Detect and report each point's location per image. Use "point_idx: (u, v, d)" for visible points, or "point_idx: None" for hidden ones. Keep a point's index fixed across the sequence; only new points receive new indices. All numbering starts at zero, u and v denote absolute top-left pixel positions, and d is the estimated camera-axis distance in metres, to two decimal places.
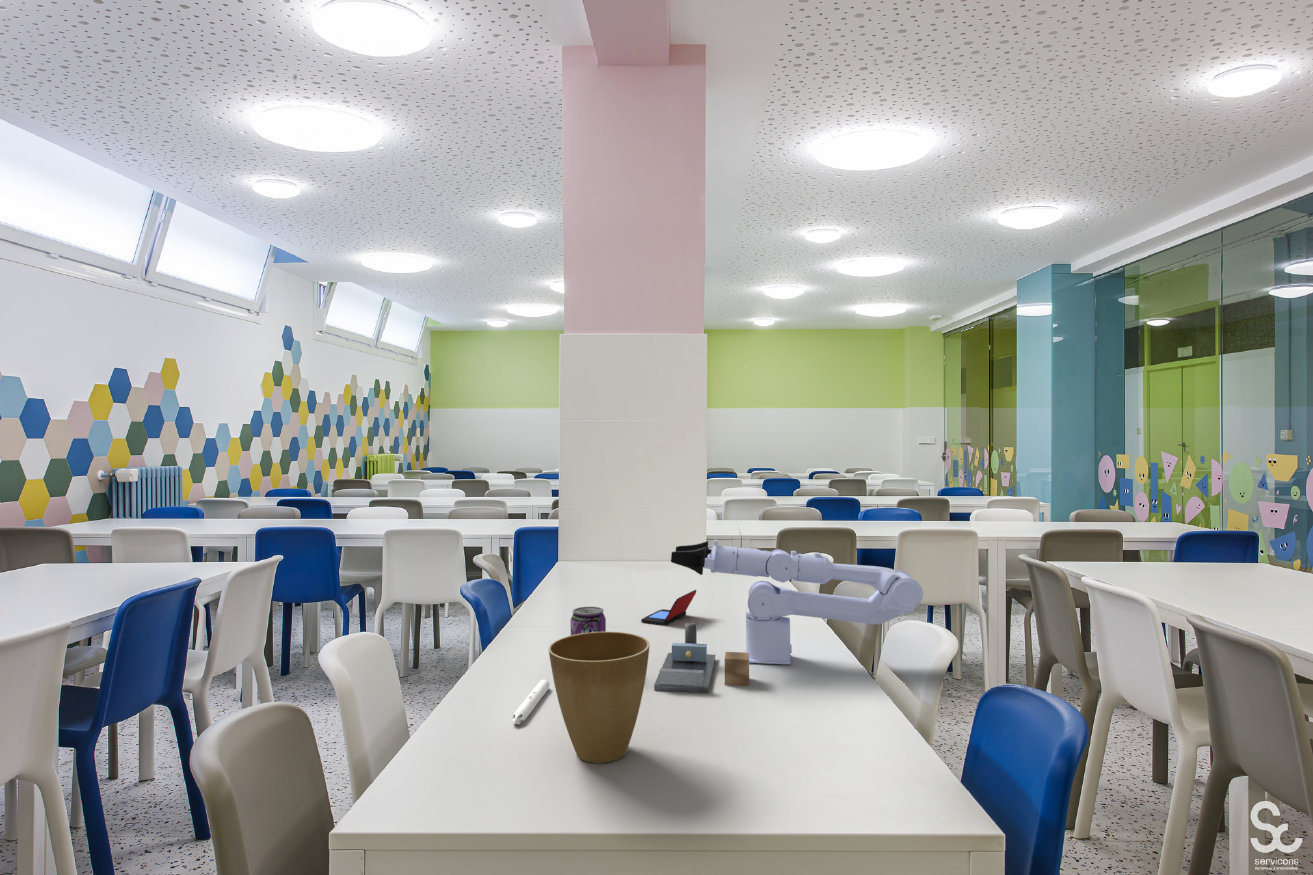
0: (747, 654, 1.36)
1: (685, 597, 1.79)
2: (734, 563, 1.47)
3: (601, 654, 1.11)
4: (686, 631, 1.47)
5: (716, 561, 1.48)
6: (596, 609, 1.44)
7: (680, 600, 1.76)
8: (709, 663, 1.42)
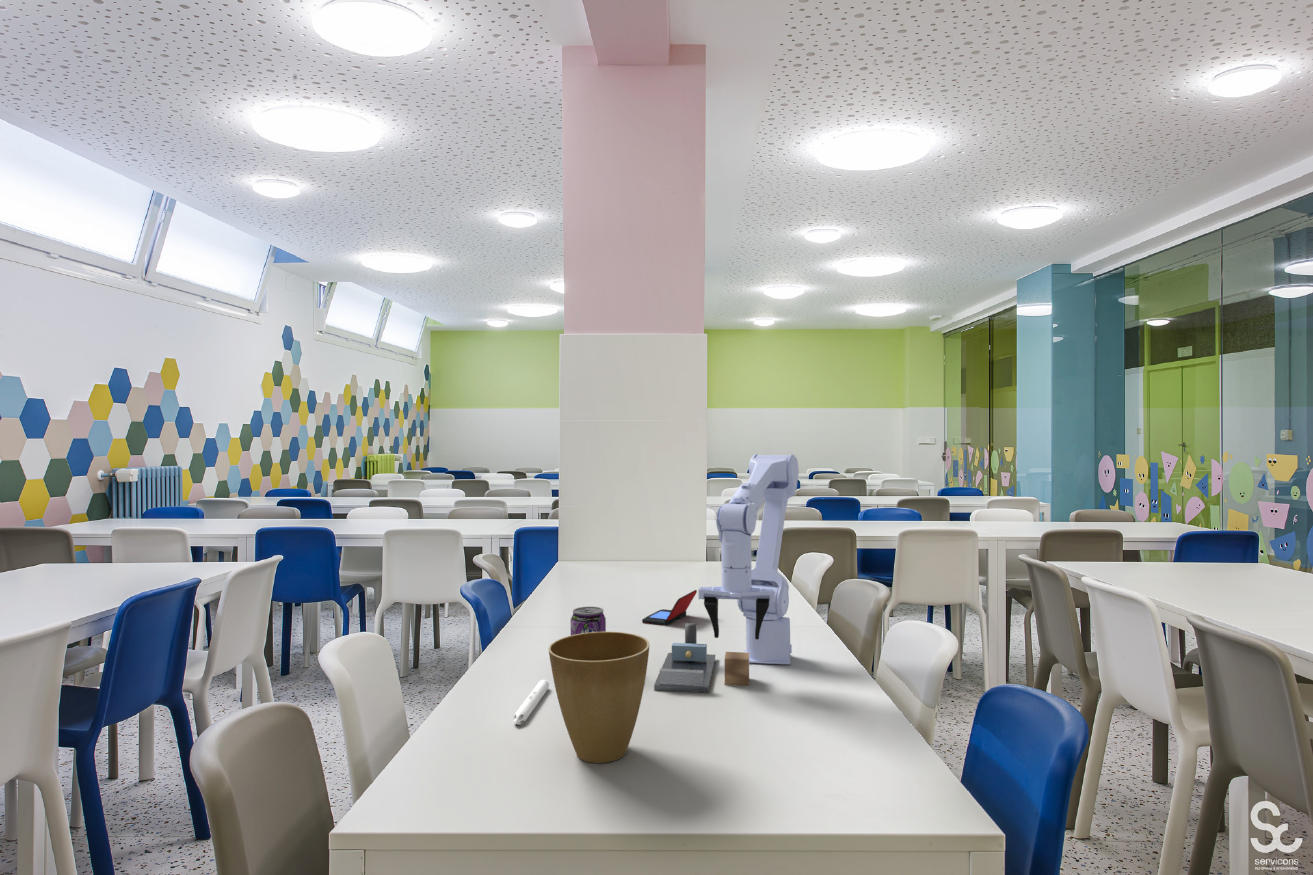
0: (747, 654, 1.36)
1: (686, 597, 1.79)
2: None
3: (601, 654, 1.11)
4: (686, 631, 1.47)
5: (751, 588, 1.35)
6: (596, 609, 1.44)
7: (681, 600, 1.76)
8: (709, 663, 1.42)
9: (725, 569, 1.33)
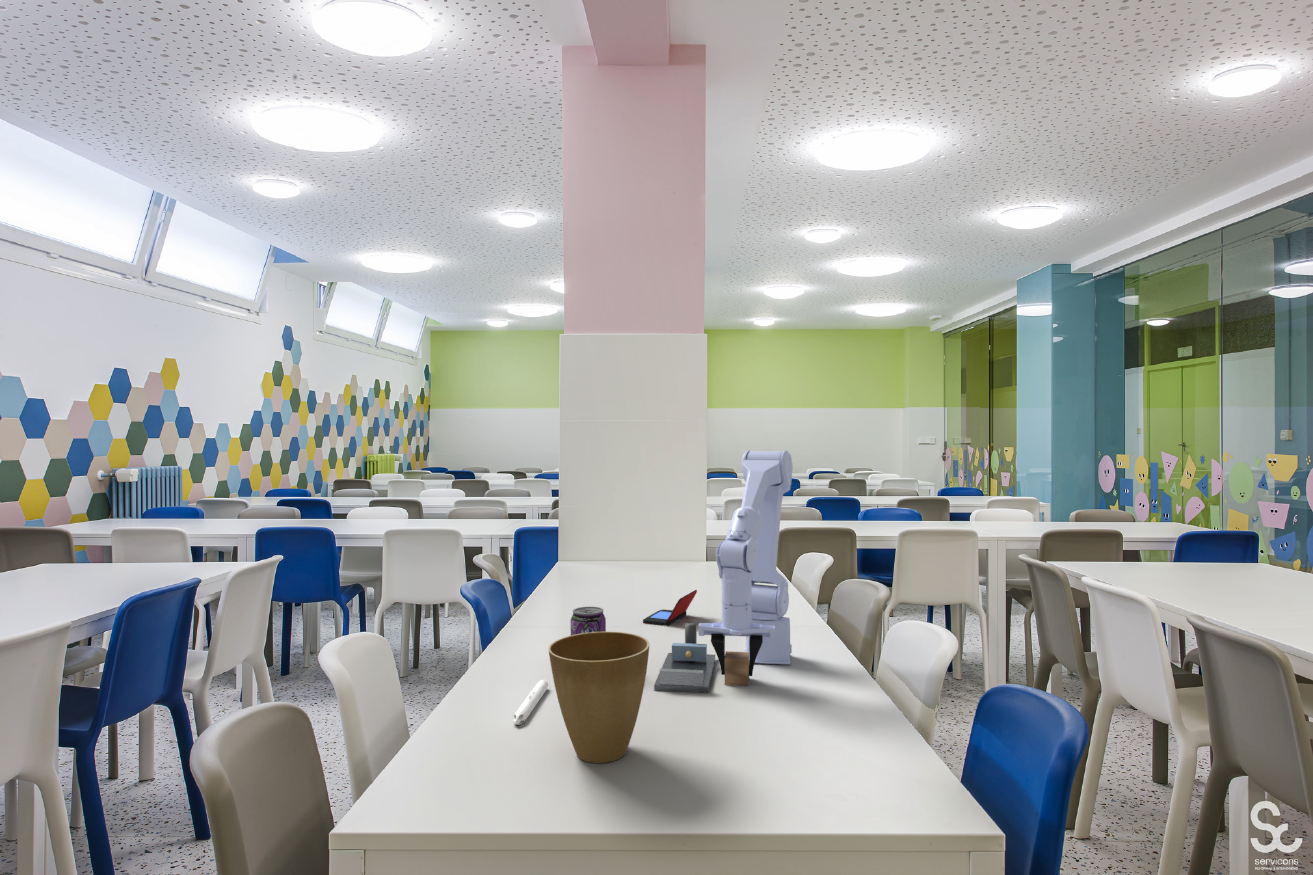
0: (747, 654, 1.36)
1: (687, 597, 1.79)
2: (751, 604, 1.35)
3: (601, 654, 1.11)
4: (686, 631, 1.47)
5: (751, 624, 1.35)
6: (596, 609, 1.44)
7: (682, 600, 1.76)
8: (709, 663, 1.42)
9: (725, 606, 1.33)
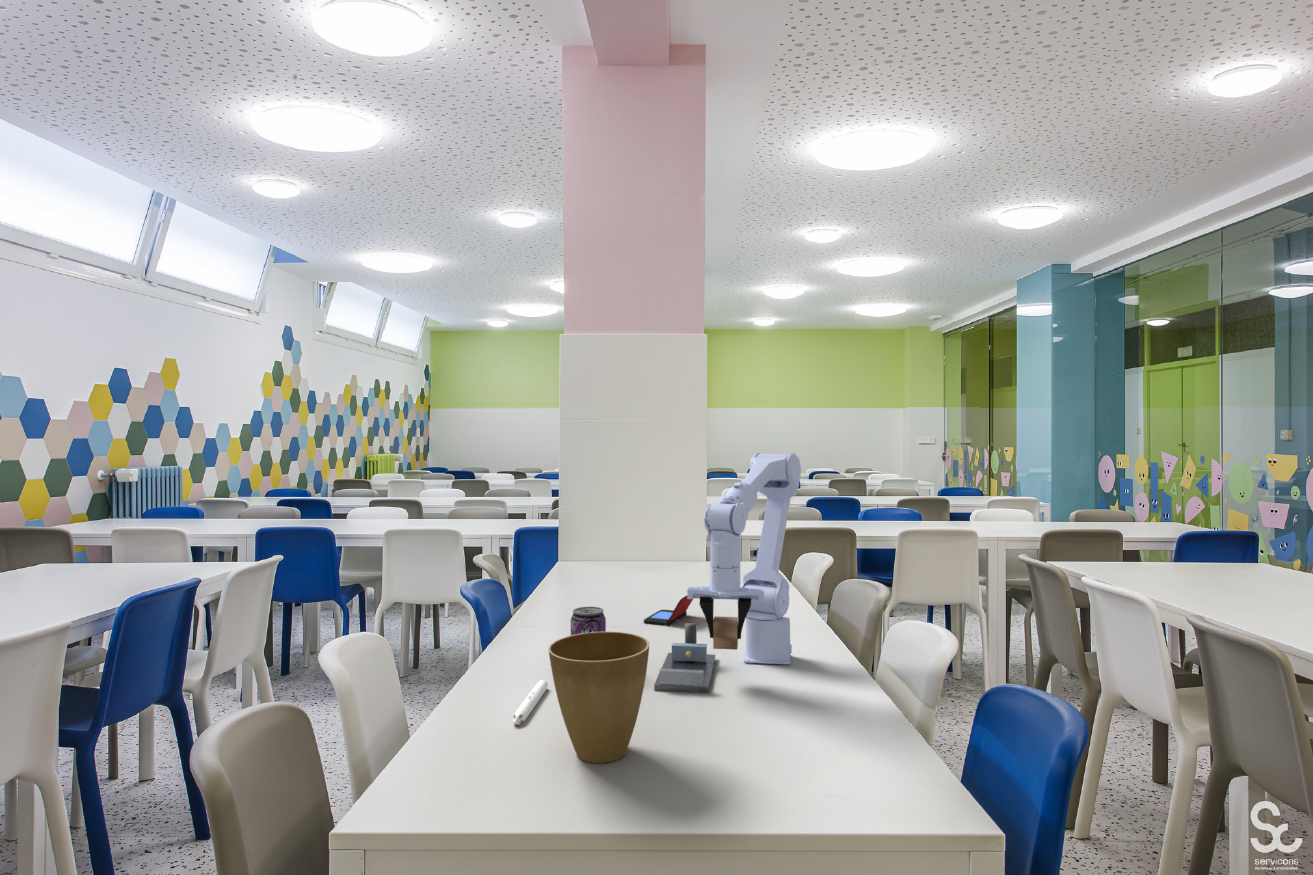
0: (736, 618, 1.35)
1: None
2: None
3: (601, 654, 1.11)
4: (686, 631, 1.47)
5: None
6: (596, 609, 1.44)
7: (683, 600, 1.76)
8: (709, 663, 1.42)
9: (714, 569, 1.33)
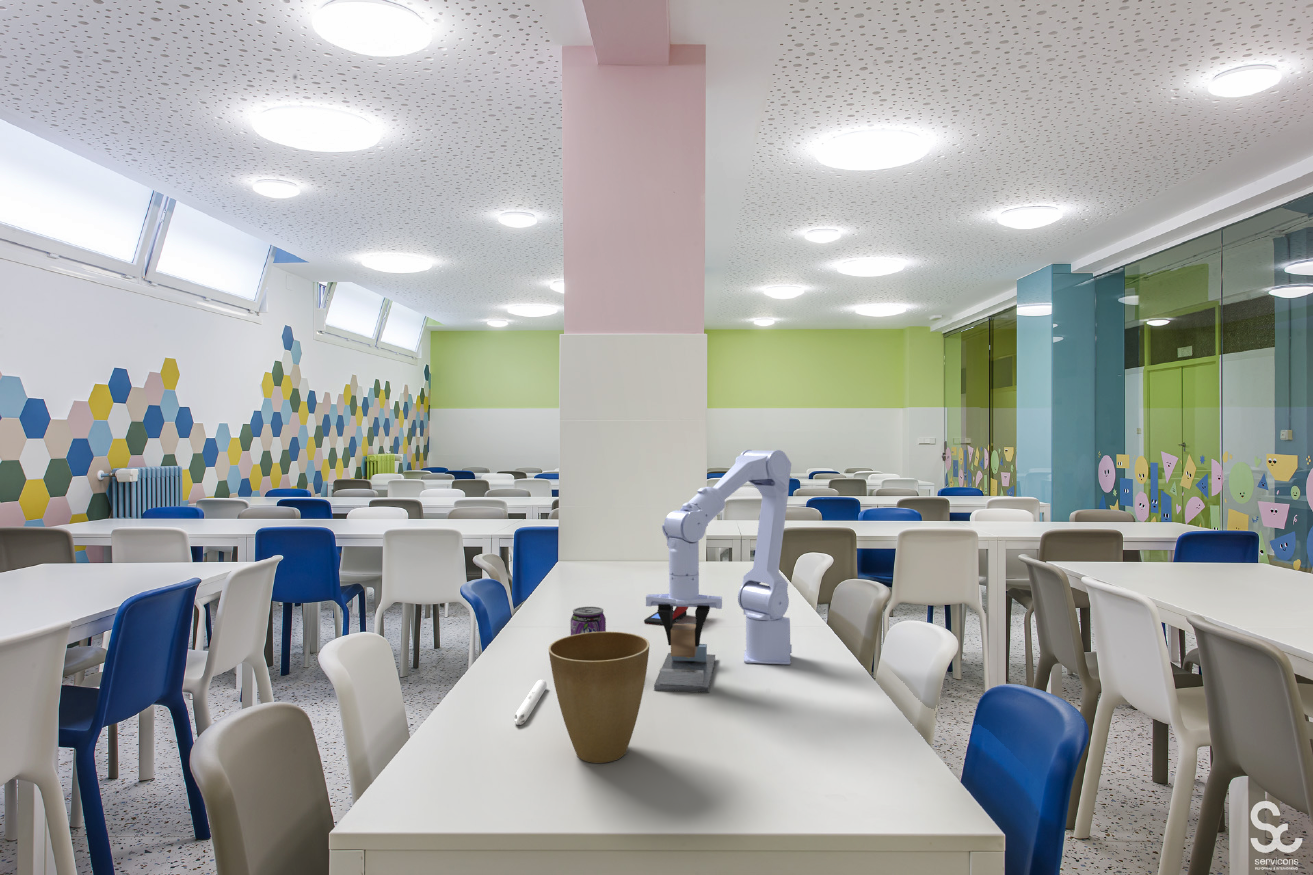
0: (694, 626, 1.35)
1: None
2: (698, 575, 1.35)
3: (601, 654, 1.11)
4: None
5: (698, 595, 1.35)
6: (596, 609, 1.44)
7: None
8: (709, 663, 1.42)
9: (672, 576, 1.33)
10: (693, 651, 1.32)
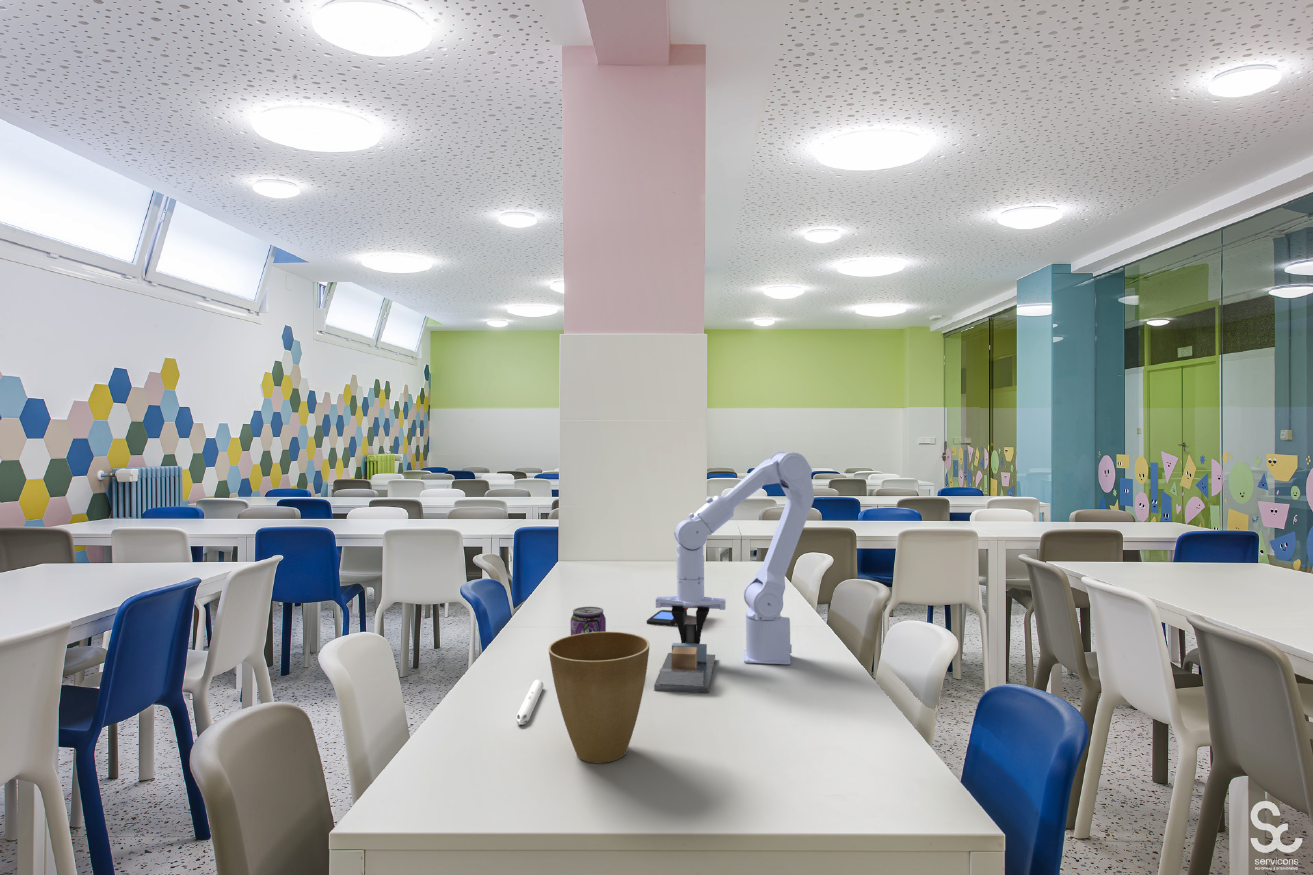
0: (695, 649, 1.35)
1: None
2: None
3: (601, 654, 1.11)
4: (686, 631, 1.47)
5: (704, 597, 1.47)
6: (596, 609, 1.44)
7: None
8: (709, 663, 1.42)
9: (679, 580, 1.46)
10: None
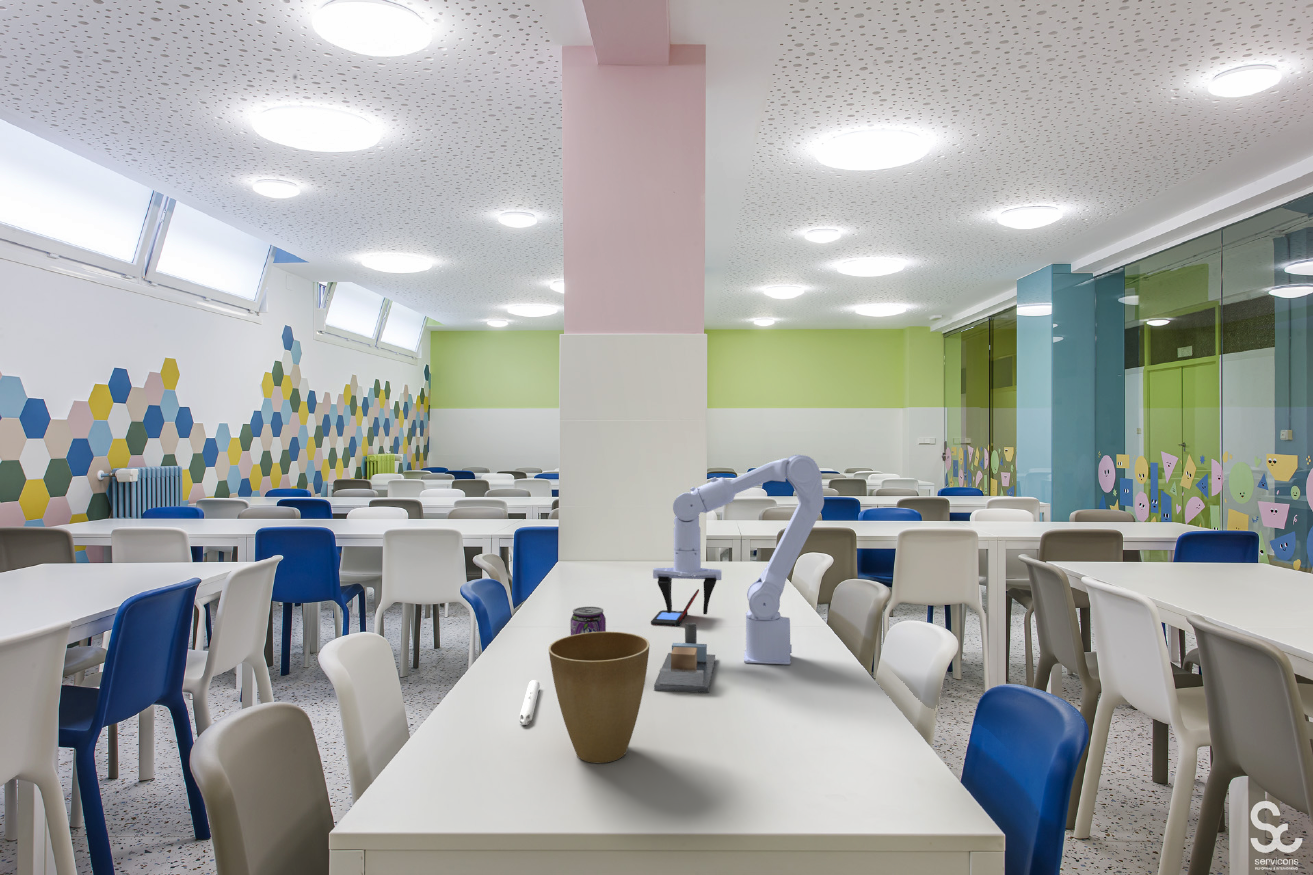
0: (695, 649, 1.35)
1: (694, 597, 1.79)
2: (700, 550, 1.50)
3: (601, 654, 1.11)
4: (686, 631, 1.47)
5: (700, 568, 1.50)
6: (596, 609, 1.44)
7: (692, 600, 1.77)
8: (709, 663, 1.42)
9: (676, 551, 1.49)
10: None
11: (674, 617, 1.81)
